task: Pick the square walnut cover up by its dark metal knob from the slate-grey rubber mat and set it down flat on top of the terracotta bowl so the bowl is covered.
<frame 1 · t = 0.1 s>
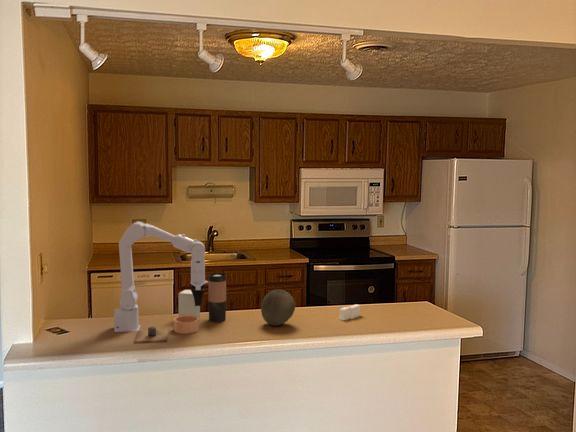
hand: (198, 303, 223), 10 cm above the table, tool pointing down, fingers open, 7 cm apart
slate mat: (152, 338, 209), on the table
terracotta bowl: (186, 330, 219), on the table
travel mug: (217, 320, 235), on the table
walnut cover: (152, 337, 209), resting on slate mat
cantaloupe: (277, 325, 228), on the table
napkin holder: (348, 319, 241), on the table
supplement box: (189, 320, 234), on the table
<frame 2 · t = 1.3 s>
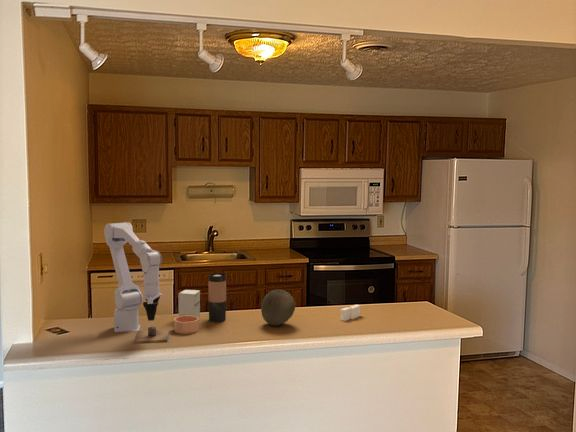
hand: (151, 317, 208), 8 cm above the table, tool pointing down, fingers open, 7 cm apart
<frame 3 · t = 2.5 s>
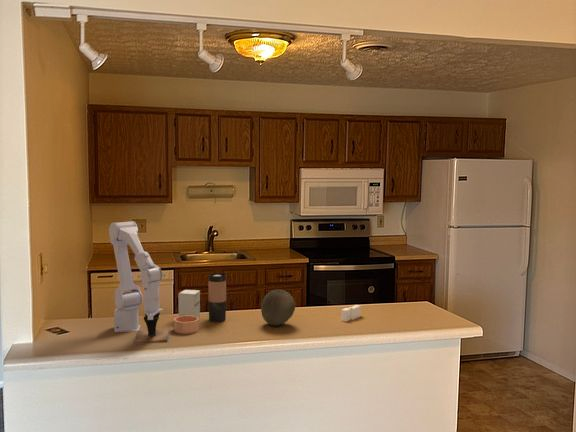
hand: (152, 332, 209), 2 cm above the table, tool pointing down, fingers closed on walnut cover, 3 cm apart
walnut cover: (152, 337, 209), resting on slate mat, touching gripper
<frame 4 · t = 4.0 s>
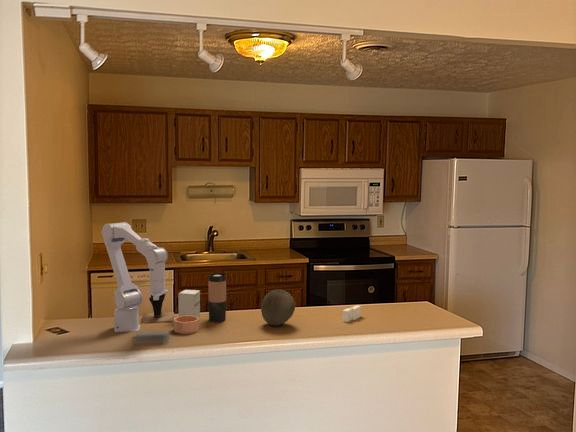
hand: (157, 313, 210), 9 cm above the table, tool pointing down, fingers closed on walnut cover, 3 cm apart
walnut cover: (157, 318, 210), point 7 cm above the table, touching gripper
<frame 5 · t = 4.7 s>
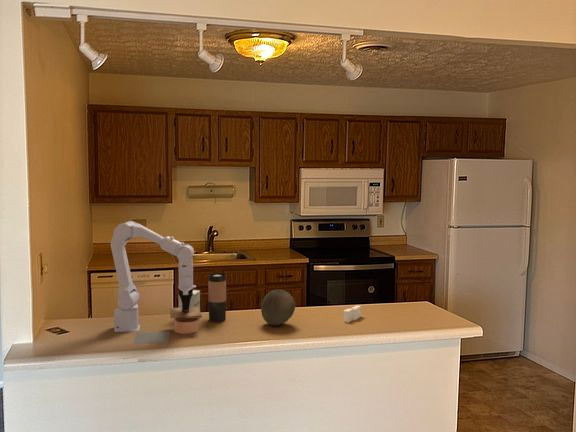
hand: (186, 308, 218), 9 cm above the table, tool pointing down, fingers closed on walnut cover, 3 cm apart
walnut cover: (185, 313, 218), point 7 cm above the table, touching gripper
when the fingers open (8 cm above the table, at t = 5.4 s): walnut cover stays where it is, resting on terracotta bowl.
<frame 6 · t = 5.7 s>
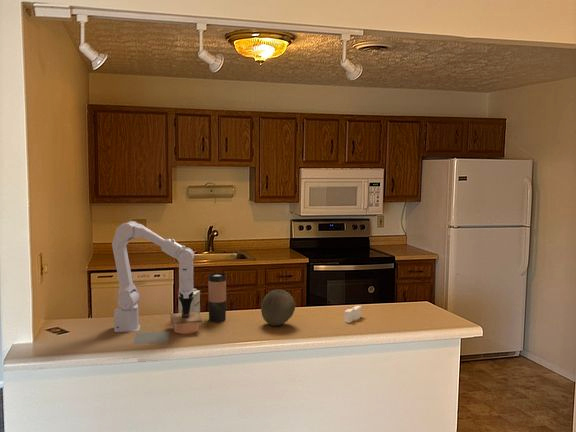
hand: (186, 311, 218), 8 cm above the table, tool pointing down, fingers open, 6 cm apart
walnut cover: (185, 318, 218), point 5 cm above the table, touching terracotta bowl
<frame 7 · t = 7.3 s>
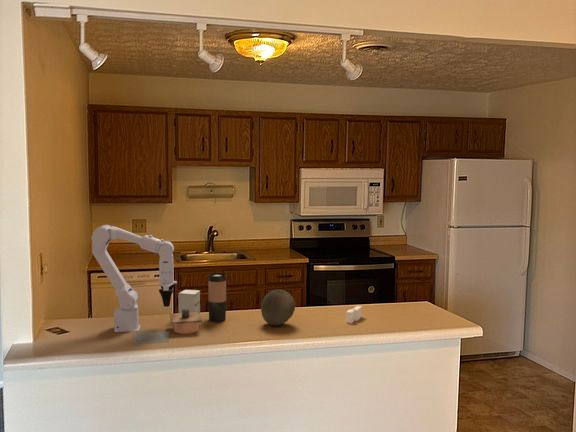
hand: (167, 303, 220), 10 cm above the table, tool pointing down, fingers open, 7 cm apart
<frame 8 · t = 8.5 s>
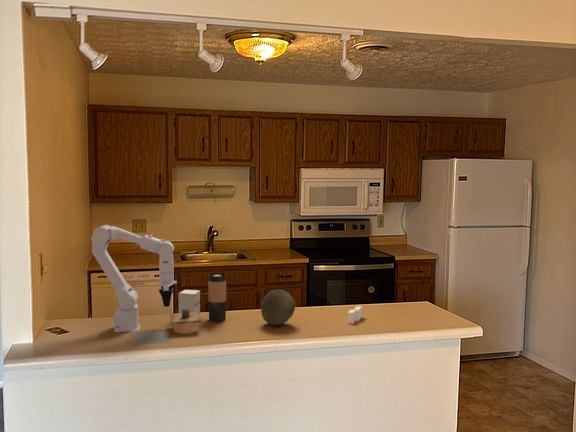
hand: (167, 303, 220), 10 cm above the table, tool pointing down, fingers open, 7 cm apart
at the end: walnut cover 0.3 cm off-centre on the terracotta bowl, point 5.0 cm above the terracotta bowl's base; walnut cover tilted 0°; the gripper is holding nothing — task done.
